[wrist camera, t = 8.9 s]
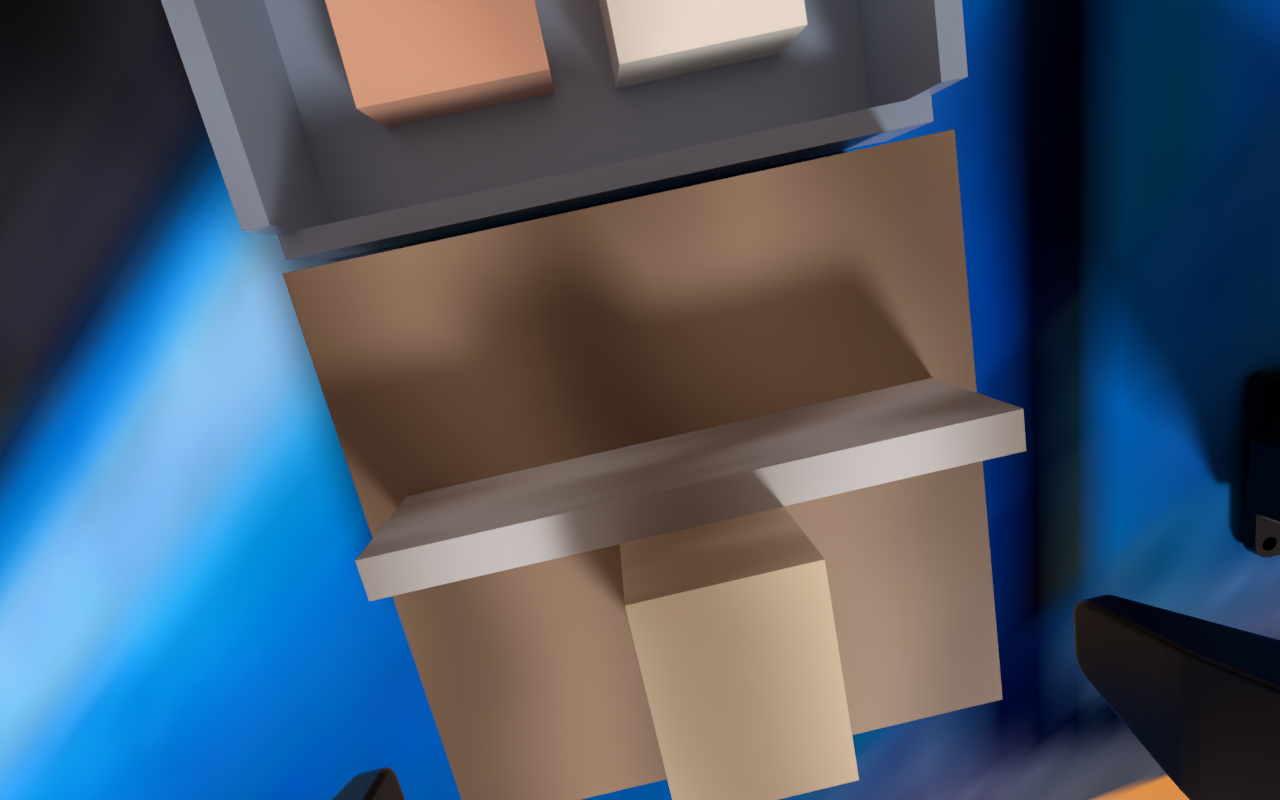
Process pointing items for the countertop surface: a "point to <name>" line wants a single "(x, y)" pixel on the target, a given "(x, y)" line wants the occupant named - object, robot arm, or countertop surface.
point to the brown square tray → (662, 435)
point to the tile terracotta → (439, 55)
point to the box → (536, 119)
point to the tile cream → (694, 34)
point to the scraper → (711, 566)
